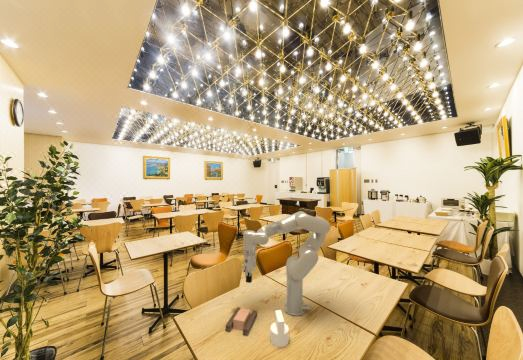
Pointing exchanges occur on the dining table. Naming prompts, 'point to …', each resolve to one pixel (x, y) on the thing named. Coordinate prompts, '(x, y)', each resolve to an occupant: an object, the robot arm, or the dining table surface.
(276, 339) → the base with upright slab
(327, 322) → the dining table surface
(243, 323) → the block
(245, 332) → the chute
